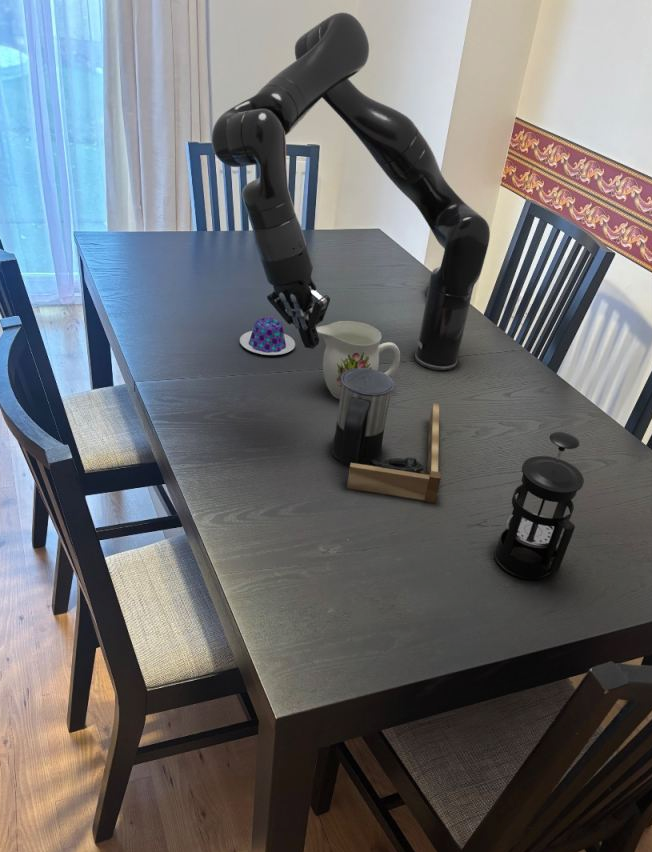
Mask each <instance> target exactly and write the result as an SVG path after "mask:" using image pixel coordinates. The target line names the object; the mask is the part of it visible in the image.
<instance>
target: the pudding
mask: <svg viewBox="0 0 652 852" xmlns="http://www.w3.org/2000/svg"><path fill="white" fill-rule="evenodd" d="M239 343H240V345H241V346H242V347H243V348H245V350H247V351H250V352H252V353H255V354H260V355H265V356H277V355H278V356H279V355H284V354H287V353H289V352H291V351H293V350H294V349H295V348H296V341H295V339H293V337H291V336H290V335H288V334H286V333H285V332H284V326H283V323H282V322H281V321H280V320H277V319H276V318H273V317H271V318H270V317H263V318H258V319H257V320H256V321H255V323H254V325H253V328H252V330H250V331H247V332H245V333H244V334H242V335H241V336H240V338H239Z"/></svg>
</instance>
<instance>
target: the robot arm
mask: <svg viewBox="0 0 652 852" xmlns="http://www.w3.org/2000/svg"><path fill="white" fill-rule="evenodd" d="M294 56H295V61H294V62H292V63H291V64H289V65H288V66H286V67H285V68H284V69H282V70H281V71H280V72H278V73H277V74H276V75H275V76H274V77H272V78H271V79H270V80H269V81H267V83H266V84H264V85H263V86H262V87H261V89H260V90H259V91H258V92H257V93H256V94H255V95H253V96H252V97H249V98H247V99H245V100H243V101H241V102H240V103H238V104H235V106H233V107H231V108H230V109H228V110H226V111H224V112H223V113H222V114H221V115H220V116H219V117H218V119H217V120H216V122H215V123H214V125H213V128H212V132H211V147H212V150H213V152H214V154H215V156H216V158H217V159H218V160H219V161H220V162H221V163H222V164H224V165H226V166H228V167H232V168H241V167H249V166H257V165H258V168H259V177H258V178H256V179H254V180H251V181H250V182H248V183H247V184H245V186H244V187H243V188H242V192H241V196H242V197H241V198H242V201H243V205H244V207H245V210H246V214H247V217H248V221H249V222H250V223H249V224H250V226H251V229H252V232H253V233H252V234H253V238H254V239H253V240H254V243H255V247H256V250H257V253H258V255H259V258H260V262H261V264H262V267H263V270H264V274H265V276H266V280H267V282H268V284H270V285H272V288H273V291H272V292H271V293H269V294H268V295H267V296H266V299H267V300H268V302H269V303H270V304H271V306H272V307H273V308H274V309H275V310H276V312H277V313H278V314H279V315H280V316H281V317H282V318H283V320H284V321H285V322H286V323H287V324H288V325H291V324H292V325H294V327H295V328H296V329H297V331H298V333H299V336H300V338H301V342H302V343H303V346H304V348H306V349H310V350H312V349H315V348H316V347H317V346H318V345H319V344H320V337H319V333H317V330H316V327H317V325H318V324H320V323H322V322H323V321H324V319H325V315H326V313H327V310H328V307H329V305H330V302H331V297H330V296H329V295H327V294H325V295H321V293H319V291H317V286H316V284H315V283H314V281H313V279H312V274H313V269H314V267H313V263H312V260H311V259H312V258H311V256H310V252H309V249H308V245H307V243H306V239H305V236H304V231H303V228H302V226H301V223H300V221H299V219H298V217H297V213H296V210H295V207H294V203H293V200H292V197H291V193H290V190H289V183H288V181H289V180H288V168H287V167H288V166H287V140H286V139H287V138H286V136H287V135H288V134H290V133H291V132H292V131H293V130H294V129H295V127H296V126H297V125H298V124H299V123H300V122H301V121H302V120H303V119H304V118H305V117H306V116H307V114H308V113H309V112H311V110H313V108H314V107H315V106H316V105H317V104H318V102H319V101H321V99H323V100H324V102H325V103H327V105H328V106H330V108H331V109H332V110H333V111H334V112H335V113H336V114H337V115H338V116H339V117H340V118H341V119H342V120H343V121H344V123H345V124H346V125H347V126H348V128H349V129H350V130H351V131H352V132H353V133H354V134H355V136H356V138H358V140H359V141H360V142H361V144H363V146H364V147H365V148H366V150H367V151H368V153H370V155H371V156H372V158H373V159H374V161H375V162H376V163H377V165H378V166H379V168H381V169H382V171H383V172H384V173H385V175H386V176H387V177H388V178H389V180H390V181H391V182H392V183H393V184H394V185H395V186H396V187H397V188H398V189H399V191H400V192H401V193H402V194H403V195H405V196H406V197H407V199H409V200H410V201H411V202H412V203H413V204H414V205H415V207H416V208H417V209H418V211H419V213H420V214H421V216H422V217H423V219H424V220H425V222H426V223H427V225H428V227H429V228H430V230H431V232H432V234H433V236H434V238H435V239H436V241H437V242H438V244H439V245H440V246H441V247H442V248H443V249H444V251H443V255H442V259H441V263H440V266H437V267H435V268H433V270H432V271H431V273H430V278H429V283H428V286H426V289H425V296H426V299H425V305H424V310H423V315H422V320H421V326H420V330H419V336H418V338H417V343H416V344H417V346H416V351H415V353H414V360H415V361H416V363H417V364H419V365H420V366H421V367H424V368H426V369H429V370H433V371H449V370H452V369H455V368H456V367H457V364H458V358H459V353H460V349H461V345H462V340H463V336H464V331H465V326H466V322H467V318H468V314H469V310H470V309H469V308H470V305H471V300H472V295H473V291H474V286H475V285H476V284H477V282H478V280H479V278H480V277H481V274H482V270H483V266H484V264H485V259H486V256H487V253H488V248H489V244H490V239H491V238H490V237H491V231H490V226H489V223H488V221H487V220H486V219H485V218H484V217H483V215H481V214H479V212H477V211H476V210H475V209H474V208H472V207H471V206H470V205H468V204H467V203H466V202H464V200H463V199H462V198H461V197H460V196H459V195H458V194H457V193H456V191H455V190H453V188H452V187H451V186H450V184H449V183H448V182H447V180H446V179H445V177H444V176H443V174H442V171H441V168H440V166H439V164H438V161H437V158H436V155H435V153H434V151H433V150H432V147H431V146H430V144H429V143H428V141H427V140H426V138H425V137H424V136H423V134H422V133H421V132H420V130H419V128H418V127H417V126H416V124H415V123H414V122H413V120H411V118H409V117H408V116H407V115H405V114H404V113H402V112H401V111H398V110H397V109H395V108H393V107H390V106H388V105H386V104H384V103H382V102H379V101H376V100H375V99H372V98H371V97H369V96H368V95H366V94H364V93H363V92H361V90H359V88H357V86H356V85H355V84H354V83H353V82H352V81H351V80H350V79H351V78H352V77H354V76H355V75H356V74H358V73H359V72H360V71H362V69H364V67H365V66H366V64H367V62H368V60H369V56H370V42H369V39H368V36H367V33H366V31H365V29H364V27H363V25H362V23H361V22H360V21H359V20H358V19H357V18H356V17H355V16H354V15H352V14H350V13H348V12H337V13H334V14H332V15H330V16H328V17H326V18H325V19H324V20H322V21H321V22H319V23H318V24H316V25H315V26H314V27H312V28H311V29H309V30H308V31H306V32H305V33H304V34H302V35H301V36H300V37H299V38H298V39H297V40H296V41H295V45H294Z"/></svg>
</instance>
